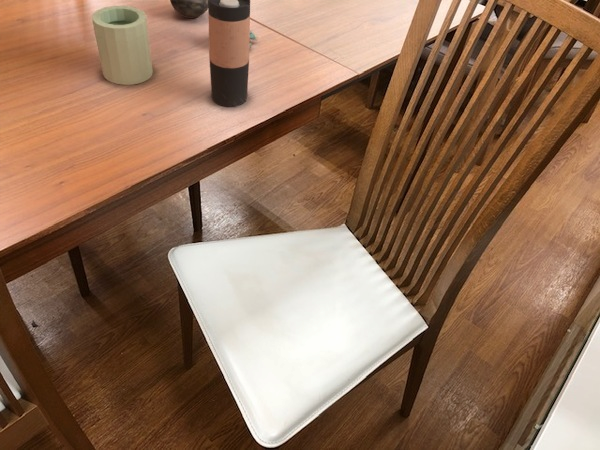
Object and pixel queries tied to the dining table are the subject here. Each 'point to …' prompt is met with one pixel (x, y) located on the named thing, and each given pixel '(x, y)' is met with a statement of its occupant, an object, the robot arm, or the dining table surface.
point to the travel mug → (229, 50)
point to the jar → (123, 44)
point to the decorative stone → (190, 7)
